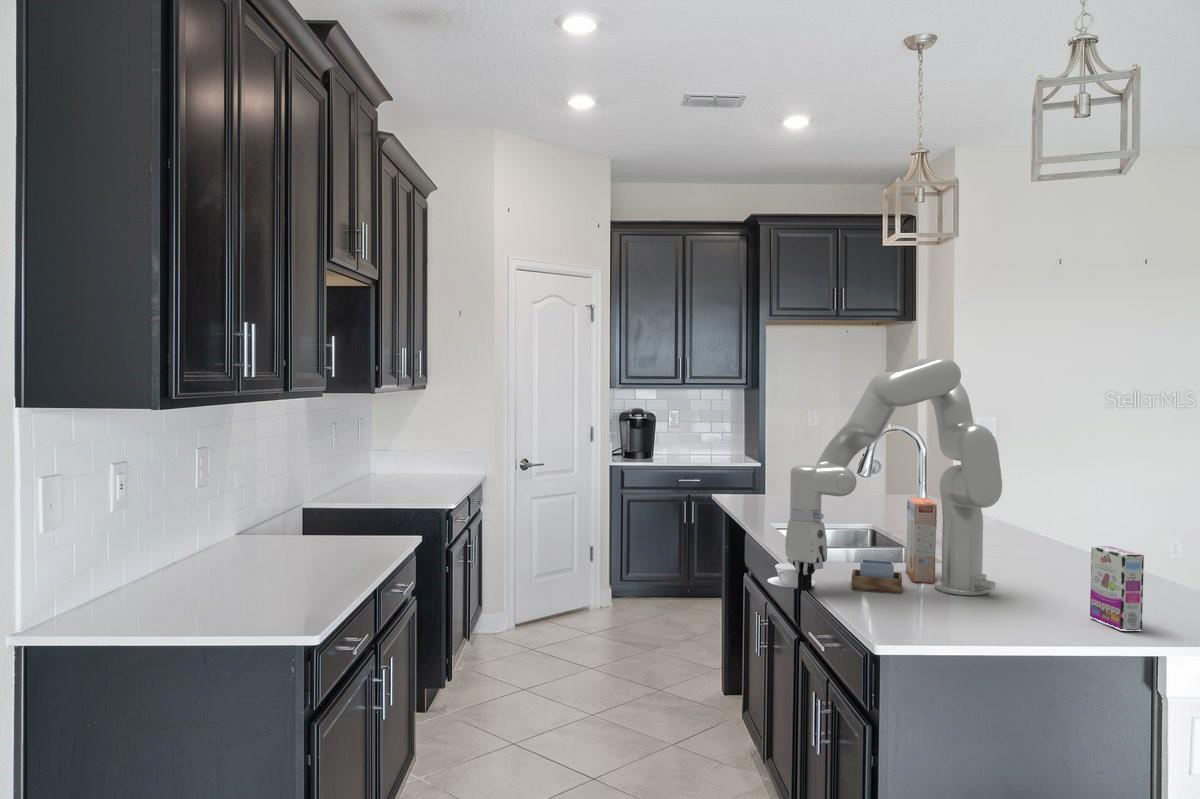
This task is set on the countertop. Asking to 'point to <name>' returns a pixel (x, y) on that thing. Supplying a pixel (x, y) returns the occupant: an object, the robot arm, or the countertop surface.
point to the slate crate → (876, 568)
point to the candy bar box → (1117, 587)
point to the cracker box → (921, 540)
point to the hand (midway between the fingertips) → (804, 589)
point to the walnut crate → (877, 583)
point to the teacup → (786, 576)
